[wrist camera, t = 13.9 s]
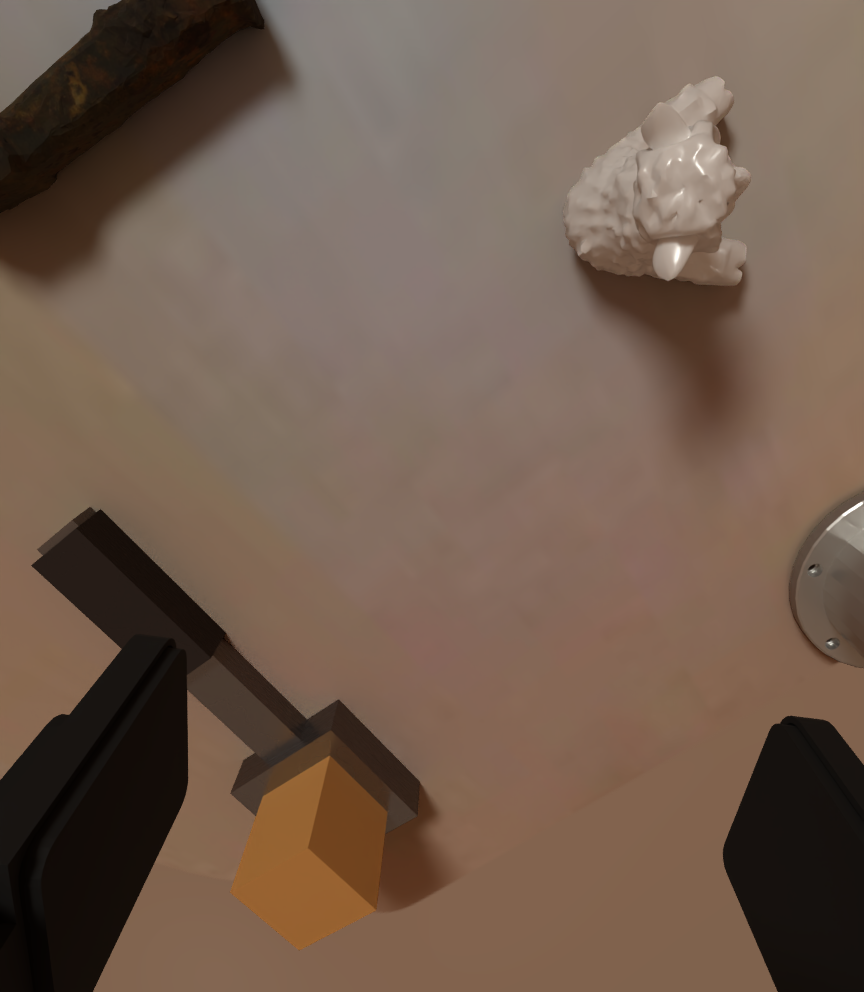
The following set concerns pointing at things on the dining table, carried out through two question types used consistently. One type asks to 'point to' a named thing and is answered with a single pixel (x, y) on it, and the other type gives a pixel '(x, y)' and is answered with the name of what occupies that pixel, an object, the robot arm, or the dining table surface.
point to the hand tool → (107, 83)
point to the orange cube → (313, 855)
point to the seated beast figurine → (663, 196)
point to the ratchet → (217, 669)
